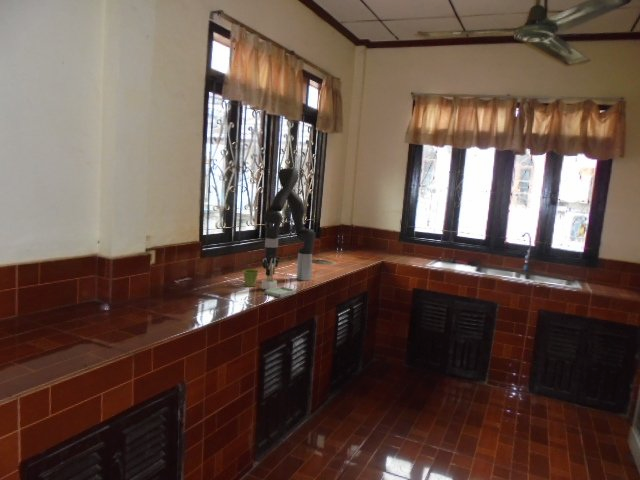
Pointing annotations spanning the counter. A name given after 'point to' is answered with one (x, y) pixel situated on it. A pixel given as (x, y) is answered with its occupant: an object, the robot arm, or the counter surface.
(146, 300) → the counter surface
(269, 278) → the dowel
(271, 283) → the white open box
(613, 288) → the counter surface
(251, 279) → the plant pot
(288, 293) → the tray
